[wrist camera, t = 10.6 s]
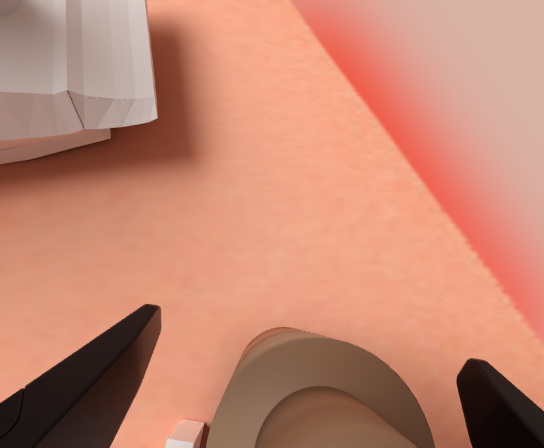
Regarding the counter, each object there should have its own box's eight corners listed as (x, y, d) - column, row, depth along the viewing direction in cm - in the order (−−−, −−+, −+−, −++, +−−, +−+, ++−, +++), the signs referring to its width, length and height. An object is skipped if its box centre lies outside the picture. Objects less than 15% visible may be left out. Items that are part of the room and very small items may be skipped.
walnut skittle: (325, 437, 15) (638, 992, 3) (228, 421, 15) (90, 894, 3) (335, 335, 16) (575, 385, 4) (246, 320, 16) (207, 324, 4)
